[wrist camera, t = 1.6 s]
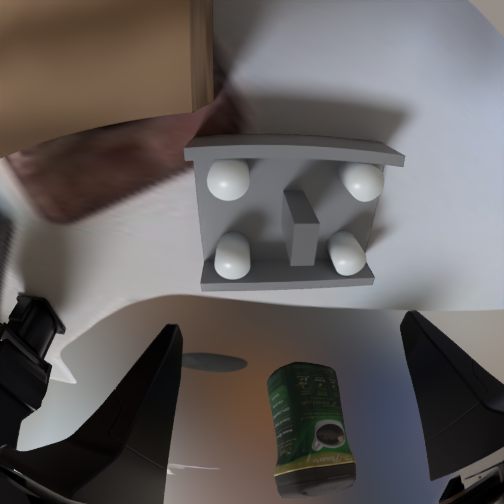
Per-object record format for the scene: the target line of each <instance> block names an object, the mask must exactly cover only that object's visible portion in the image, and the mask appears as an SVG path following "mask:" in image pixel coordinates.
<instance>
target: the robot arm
mask: <svg viewBox="0 0 504 504" xmlns="http://www.w3.org/2000/svg"><path fill="white" fill-rule="evenodd" d="M16 299H17V301H18V303H17V304H16V306H15V307H14V309H13V311H12V312H11V314H10V315H9V318H8V319H9V322H8V324H6V323H5V322H4V323H3V324H2V323H0V504H163V501H164V491H165V482H166V474H167V465H168V457H169V450H170V442H171V436H172V429H173V423H174V416H175V410H176V403H177V397H178V391H179V386H180V380H181V367H182V350H183V337H182V334H181V331H180V328H179V325H178V324H173V323H172V324H171V323H168V324H166V326H165V327H164V328H163V329H162V330H161V332H160V333H159V334H158V335H157V337H156V338H155V339H154V340H153V342H152V343H151V344H150V345H149V346H148V348H147V349H146V350H145V351H144V353H143V354H142V355H141V357H140V358H139V359H138V360H137V361H136V363H135V364H134V365H133V366H132V368H131V369H130V370H129V371H128V373H127V374H126V375H125V376H124V378H123V379H122V380H121V382H120V383H119V384H118V386H117V387H116V389H114V391H113V392H112V393H111V394H110V395H109V397H108V398H107V399H106V400H105V402H104V403H103V404H102V405H101V406H100V407H99V409H97V410H96V412H95V413H94V414H93V415H92V416H91V417H90V418H89V419H88V420H87V421H86V422H85V423H84V424H83V425H82V426H81V427H80V428H79V429H78V430H77V431H76V432H75V433H74V434H72V435H71V436H70V437H68V438H67V439H65V440H62V441H60V442H57V443H53V444H50V445H47V446H43V447H40V448H37V449H33V450H29V451H18V450H16V448H17V441H18V436H19V430H20V425H21V422H22V420H23V419H25V418H26V417H27V416H29V415H30V414H31V413H33V412H34V411H35V410H37V409H39V408H40V407H41V403H42V400H43V398H44V396H45V394H46V392H47V387H48V383H49V378H50V373H51V369H52V365H51V364H50V363H48V362H46V361H45V360H44V358H45V356H46V354H47V351H48V349H49V347H50V345H51V343H52V341H53V339H54V336H55V334H56V333H58V334H64V333H65V330H64V328H63V327H62V325H61V324H60V322H59V320H58V319H57V317H56V315H55V314H54V312H53V310H52V309H51V307H50V305H49V304H48V302H47V300H46V299H44V298H35V297H26V296H17V298H16ZM400 331H401V336H402V341H403V346H404V350H405V356H406V361H407V365H408V369H409V372H410V376H411V380H412V383H413V387H414V391H415V395H416V399H417V404H418V408H419V413H420V418H421V422H422V428H423V433H424V438H425V445H426V451H427V458H428V465H429V473H430V480H431V481H433V480H436V479H439V478H441V477H444V476H446V475H449V474H451V473H454V472H456V471H458V470H459V472H460V475H458V476H456V477H454V478H453V479H451V480H450V481H449V483H448V485H447V487H446V489H445V491H444V493H443V494H442V496H441V498H440V500H439V504H504V384H503V383H501V382H500V381H499V380H497V379H496V378H495V377H494V376H492V375H491V374H490V373H489V372H487V371H486V370H485V369H484V368H482V367H481V366H480V365H479V364H478V363H477V362H476V361H475V360H474V359H472V358H471V357H470V356H469V355H468V354H467V353H466V352H465V351H464V350H462V349H461V348H460V347H459V346H458V345H457V344H456V343H454V342H453V341H452V340H451V339H450V338H449V337H448V336H446V335H445V334H444V333H443V332H442V331H440V330H439V329H438V328H437V327H436V326H434V325H433V324H432V323H431V322H430V321H429V320H427V319H426V318H425V317H424V316H423V315H421V314H420V313H419V312H418V311H416V310H413V311H408V312H407V313H406V314H405V316H404V319H403V321H402V323H401V325H400ZM1 339H2V341H1ZM14 469H15V470H16V471H18V472H20V473H21V474H20V473H18V472H16V471H14ZM22 474H23V475H22Z"/></svg>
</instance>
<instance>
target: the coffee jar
mask: <svg viewBox="0 0 504 504" xmlns="http://www.w3.org/2000/svg"><path fill="white" fill-rule="evenodd" d="M267 387H268V394H269V400H270V405H271V410H272V415H273V421H274V427H275V432H276V439H277V448H278V460H277V464H276V467H275V471H274V476H275V481H276V484H277V489H278V492H279V494H280V496H281V497H282V498H307V497H316V496H322V495H327V494H331V493H334V492H337V491H340V490H343V489H346V488H349V487H351V486H352V485H353V483H354V482H355V480H356V464H355V459H354V456H353V455H352V453H351V450H350V448H349V445H348V442H347V438H346V433H345V427H344V420H343V414H342V408H341V401H340V393H339V386H338V381H337V376H336V372H335V371H334V370H333V369H332V368H330V367H327V366H324V365H319V364H313V363H306V362H293V363H290V364H288V365H285V366H283V367H280V368H279V369H277V370H276V371H274V373H273V374H272V375H271V376H270V377H269V379H268V381H267Z"/></svg>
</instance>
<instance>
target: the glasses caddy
mask: <svg viewBox="0 0 504 504" xmlns="http://www.w3.org/2000/svg"><path fill="white" fill-rule="evenodd" d="M184 157H185V161H192V160H194V172H195V183H196V193H197V203H198V213H199V222H200V231H201V240H202V248H203V256H204V266H203V271H202V277H201V283H200V284H201V290H202V291H256V290H287V289H311V288H331V287H348V286H363V285H373V282H374V279H375V277H374V275H373V273H372V271H371V269H370V268H369V266H368V264H367V262H366V255H365V251H366V247H367V243H368V239H369V235H370V231H371V227H372V223H373V218H374V214H375V209H376V204H377V199H378V195H379V194H380V193H381V191H382V189H383V186H384V177H383V174H382V172H383V166H384V165H391V166H399V167H403V166H404V161H405V156H404V155H403V154H401V153H399V152H398V151H396V150H394V149H392V148H390V147H389V146H387V145H385V144H383V143H381V142H374V141H367V140H358V139H349V138H339V137H327V136H312V135H291V134H228V135H207V136H194V137H193V138H192V140H191V141H190V142H189V143H188V144H187V145H186V146H185V147H184Z"/></svg>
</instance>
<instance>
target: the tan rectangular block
mask: <svg viewBox="0 0 504 504" xmlns="http://www.w3.org/2000/svg"><path fill="white" fill-rule="evenodd" d="M213 101H214V82H213V0H0V158H2V157H5V156H7V155H10V154H12V153H15V152H17V151H20V150H23V149H25V148H28V147H31V146H34V145H37V144H40V143H43V142H46V141H49V140H52V139H55V138H59V137H62V136H66V135H69V134H73V133H77V132H80V131H84V130H88V129H93V128H97V127H101V126H106V125H111V124H116V123H121V122H126V121H132V120H138V119H144V118H151V117H158V116H165V115H174V114H183V113H193V112H194V111H196V110H198V109H200V108H202V107H204V106H206V105H208V104H210V103H212V102H213Z"/></svg>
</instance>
